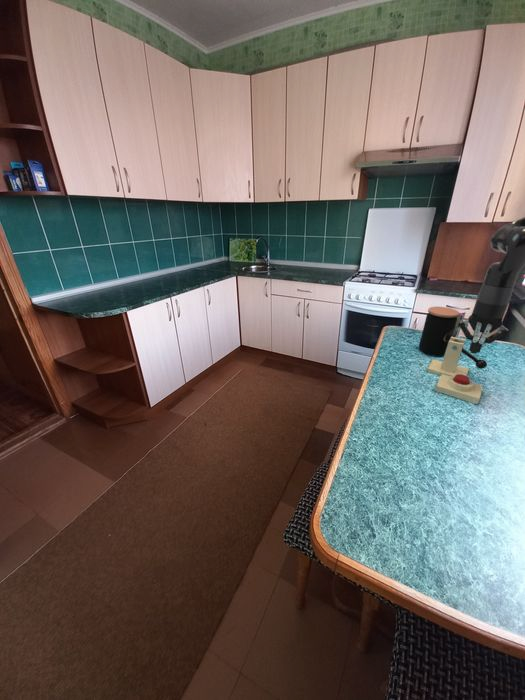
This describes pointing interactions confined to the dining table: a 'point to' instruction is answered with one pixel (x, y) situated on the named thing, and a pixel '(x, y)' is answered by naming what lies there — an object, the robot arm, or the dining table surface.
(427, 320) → the coffee jar
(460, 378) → the button
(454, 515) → the dining table surface
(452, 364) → the lever base
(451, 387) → the button block
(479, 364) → the black lever
